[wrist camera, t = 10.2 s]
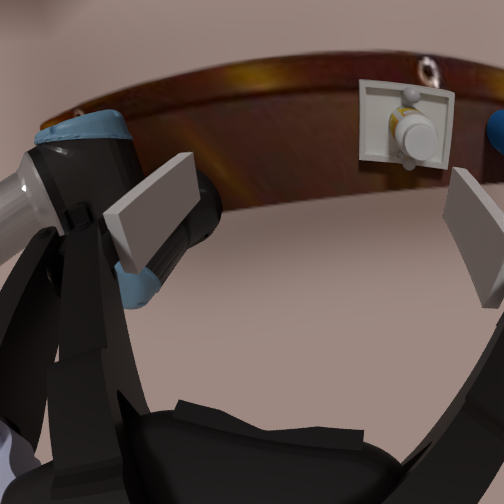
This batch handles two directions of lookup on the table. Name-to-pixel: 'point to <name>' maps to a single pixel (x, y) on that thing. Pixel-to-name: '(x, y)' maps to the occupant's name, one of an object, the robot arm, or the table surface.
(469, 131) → the table surface
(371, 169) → the table surface
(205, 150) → the table surface
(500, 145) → the beverage can
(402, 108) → the supplement bottle
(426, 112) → the tray
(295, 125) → the table surface
